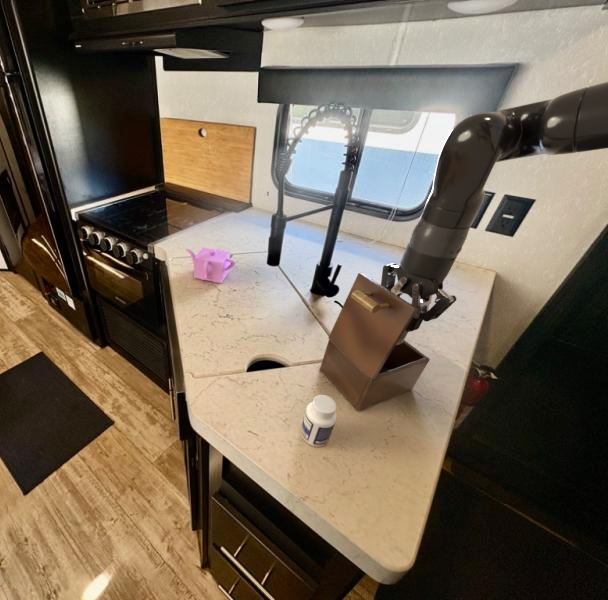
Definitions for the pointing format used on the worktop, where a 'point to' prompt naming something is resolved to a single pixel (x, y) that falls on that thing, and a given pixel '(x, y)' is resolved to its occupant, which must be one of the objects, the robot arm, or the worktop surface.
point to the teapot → (211, 264)
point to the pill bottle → (319, 421)
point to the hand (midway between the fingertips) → (398, 321)
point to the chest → (388, 383)
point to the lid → (370, 324)
